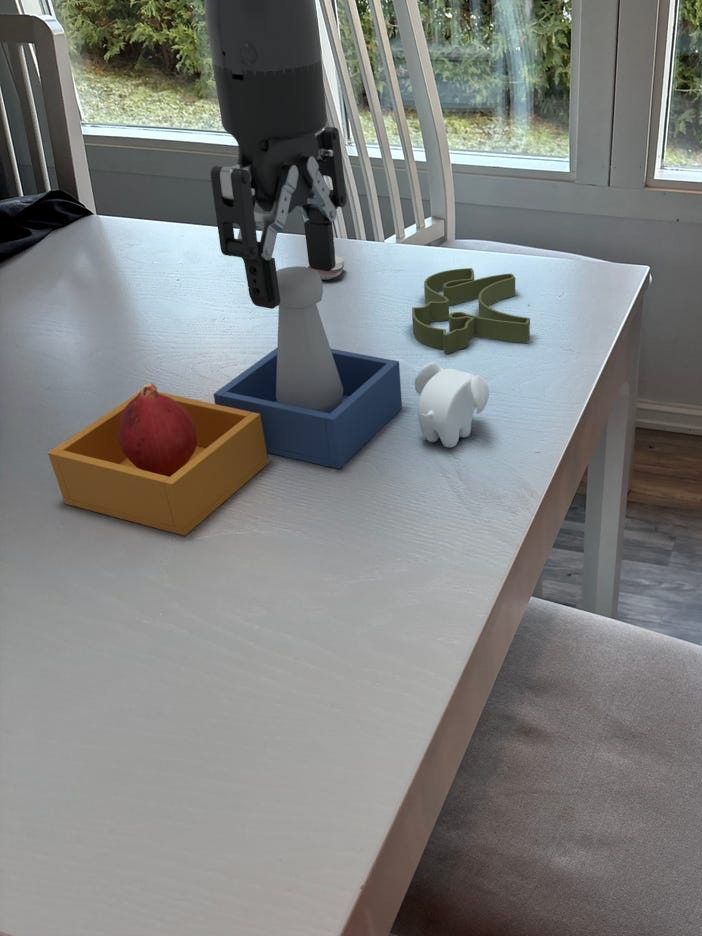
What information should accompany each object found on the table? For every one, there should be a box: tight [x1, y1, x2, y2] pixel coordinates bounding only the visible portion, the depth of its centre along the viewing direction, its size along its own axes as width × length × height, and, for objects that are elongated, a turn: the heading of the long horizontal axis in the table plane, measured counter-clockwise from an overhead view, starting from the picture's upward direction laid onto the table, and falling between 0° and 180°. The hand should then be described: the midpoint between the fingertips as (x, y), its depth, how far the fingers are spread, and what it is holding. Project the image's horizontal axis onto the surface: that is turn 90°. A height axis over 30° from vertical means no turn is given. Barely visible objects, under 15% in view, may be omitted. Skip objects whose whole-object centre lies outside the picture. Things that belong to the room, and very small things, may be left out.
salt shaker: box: [276, 265, 343, 414], centre depth 81 cm, size 6×6×13 cm
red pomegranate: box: [118, 382, 197, 477], centre depth 75 cm, size 6×6×8 cm
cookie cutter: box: [411, 267, 531, 355], centre depth 102 cm, size 18×12×2 cm, turn 5°
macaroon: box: [306, 255, 345, 281], centre depth 112 cm, size 4×5×2 cm
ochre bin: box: [47, 391, 269, 537], centre depth 77 cm, size 12×12×5 cm
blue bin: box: [213, 347, 403, 470], centre depth 84 cm, size 12×12×5 cm
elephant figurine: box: [414, 361, 490, 448], centre depth 82 cm, size 7×8×6 cm
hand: (295, 286), depth 77 cm, fingers open, 8 cm apart
